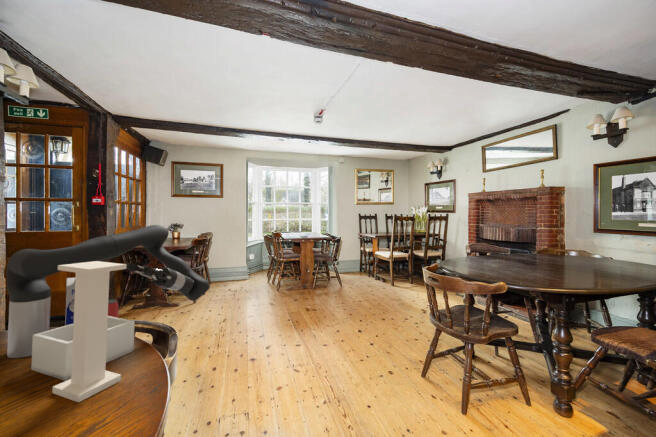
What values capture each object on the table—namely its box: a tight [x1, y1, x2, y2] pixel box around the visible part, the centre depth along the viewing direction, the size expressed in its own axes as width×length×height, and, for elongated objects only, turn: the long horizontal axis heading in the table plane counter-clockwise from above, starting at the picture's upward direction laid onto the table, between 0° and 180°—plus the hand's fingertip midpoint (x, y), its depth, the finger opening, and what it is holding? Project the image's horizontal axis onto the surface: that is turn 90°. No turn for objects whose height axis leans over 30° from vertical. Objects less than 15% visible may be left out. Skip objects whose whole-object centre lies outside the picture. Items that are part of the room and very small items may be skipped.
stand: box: [51, 261, 128, 403], centre depth 74 cm, size 12×10×32 cm
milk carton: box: [64, 277, 75, 326], centre depth 111 cm, size 7×7×20 cm
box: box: [30, 316, 136, 382], centre depth 88 cm, size 15×19×10 cm
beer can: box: [108, 298, 119, 318], centre depth 108 cm, size 7×7×12 cm
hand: (135, 267), depth 100 cm, fingers open, 8 cm apart
